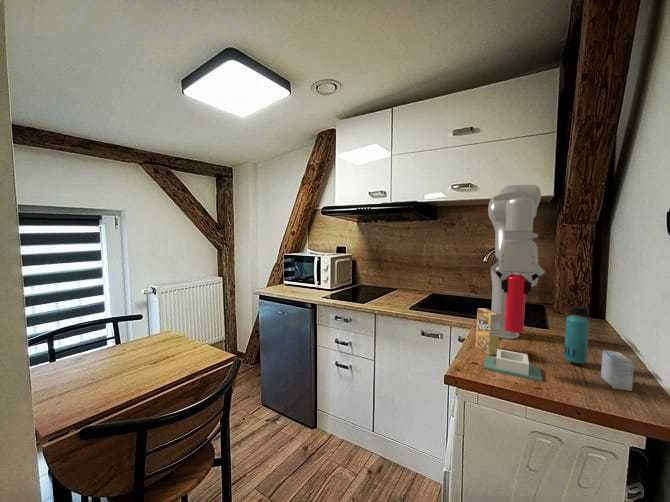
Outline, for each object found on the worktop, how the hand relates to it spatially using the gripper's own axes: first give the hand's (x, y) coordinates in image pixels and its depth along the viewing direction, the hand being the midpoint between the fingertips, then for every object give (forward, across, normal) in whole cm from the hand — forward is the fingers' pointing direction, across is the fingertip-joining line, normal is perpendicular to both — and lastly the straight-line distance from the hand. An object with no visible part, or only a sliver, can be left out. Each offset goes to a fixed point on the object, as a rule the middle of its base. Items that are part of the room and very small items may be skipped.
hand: (515, 292), depth 97 cm
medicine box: (+26, -27, -5) cm, 38 cm away
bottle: (+13, 0, 0) cm, 13 cm away
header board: (+26, 0, 0) cm, 26 cm away
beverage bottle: (+26, -19, -16) cm, 36 cm away
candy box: (+26, +8, -13) cm, 30 cm away
